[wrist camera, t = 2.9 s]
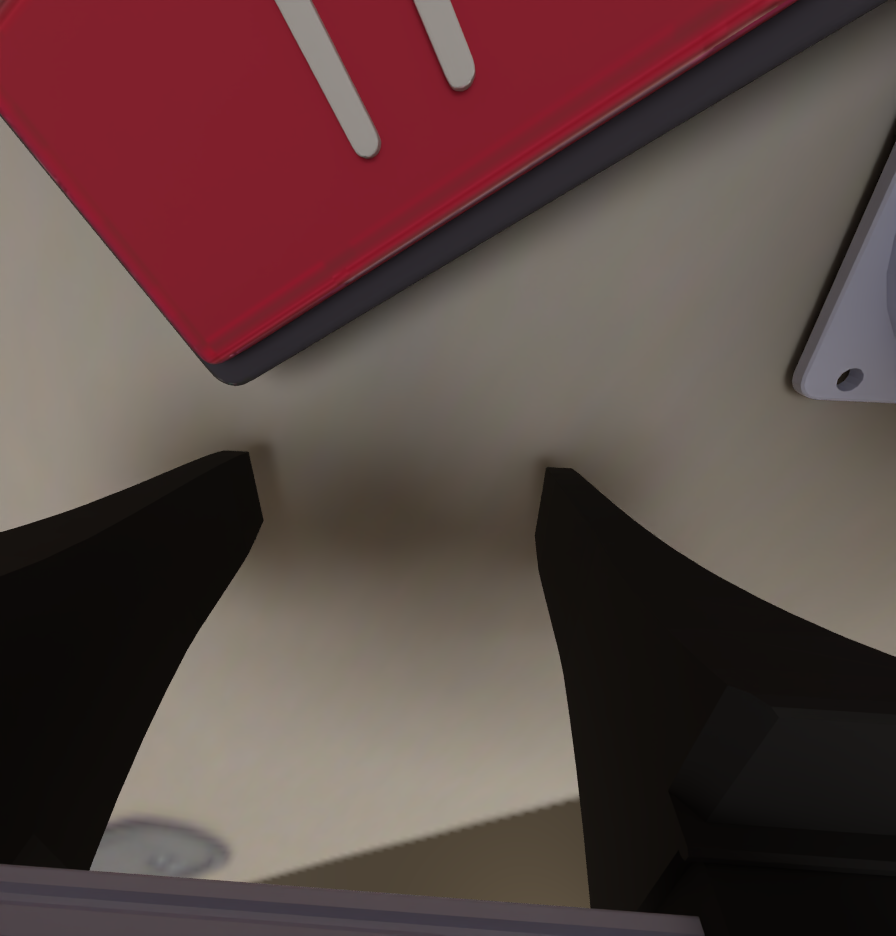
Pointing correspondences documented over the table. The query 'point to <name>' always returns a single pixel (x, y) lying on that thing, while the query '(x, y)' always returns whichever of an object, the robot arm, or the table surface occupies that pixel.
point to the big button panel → (351, 134)
